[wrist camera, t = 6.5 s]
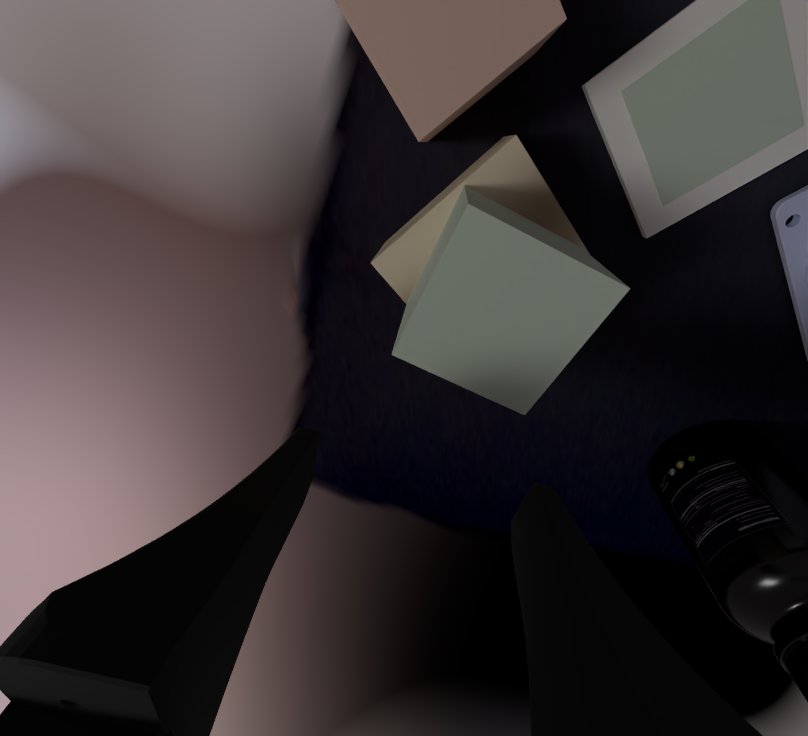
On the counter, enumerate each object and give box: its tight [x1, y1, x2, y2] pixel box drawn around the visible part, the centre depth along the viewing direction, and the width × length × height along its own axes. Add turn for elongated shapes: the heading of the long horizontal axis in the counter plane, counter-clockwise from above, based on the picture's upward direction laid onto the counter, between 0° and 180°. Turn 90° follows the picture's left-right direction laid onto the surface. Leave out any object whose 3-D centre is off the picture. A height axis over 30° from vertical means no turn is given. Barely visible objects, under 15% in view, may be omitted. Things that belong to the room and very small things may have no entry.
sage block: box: [392, 185, 630, 415], centre depth 13 cm, size 5×5×5 cm
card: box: [582, 0, 808, 239], centre depth 15 cm, size 7×7×1 cm
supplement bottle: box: [648, 423, 808, 702], centre depth 18 cm, size 7×7×12 cm
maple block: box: [371, 135, 591, 304], centre depth 17 cm, size 7×7×4 cm
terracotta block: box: [335, 0, 567, 142], centre depth 12 cm, size 5×5×5 cm
